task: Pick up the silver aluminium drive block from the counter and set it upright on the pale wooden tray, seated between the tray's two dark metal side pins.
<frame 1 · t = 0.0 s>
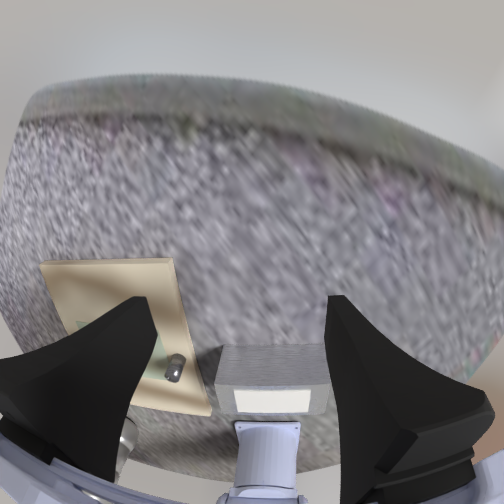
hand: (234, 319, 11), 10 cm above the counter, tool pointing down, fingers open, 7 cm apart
drive: (274, 360, 25), on the counter
plastic bottle: (123, 418, 34), on the counter
pin tray: (127, 346, 26), on the counter
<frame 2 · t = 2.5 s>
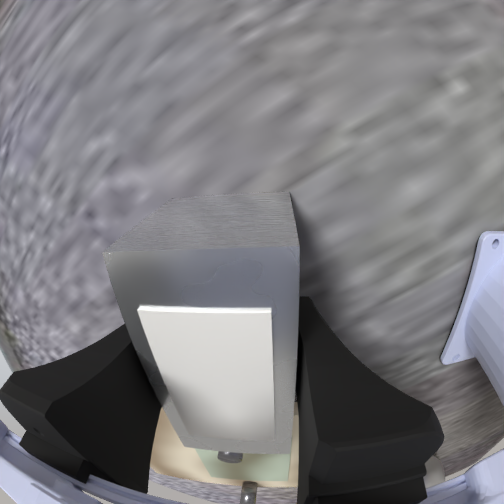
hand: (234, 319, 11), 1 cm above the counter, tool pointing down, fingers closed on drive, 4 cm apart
drive: (239, 298, 12), on the counter, touching gripper
plastic bottle: (410, 461, 20), on the counter
pin tray: (245, 451, 18), on the counter
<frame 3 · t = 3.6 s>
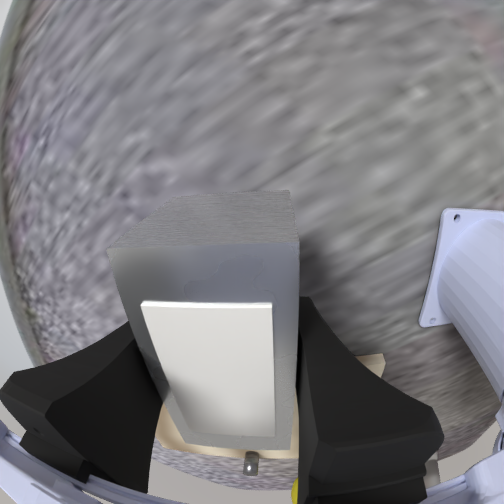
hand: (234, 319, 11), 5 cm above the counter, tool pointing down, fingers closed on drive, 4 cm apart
drive: (239, 296, 12), point 3 cm above the counter, touching gripper
plastic bottle: (403, 436, 23), on the counter
lemon: (313, 467, 27), on the counter
pin tray: (248, 416, 21), on the counter
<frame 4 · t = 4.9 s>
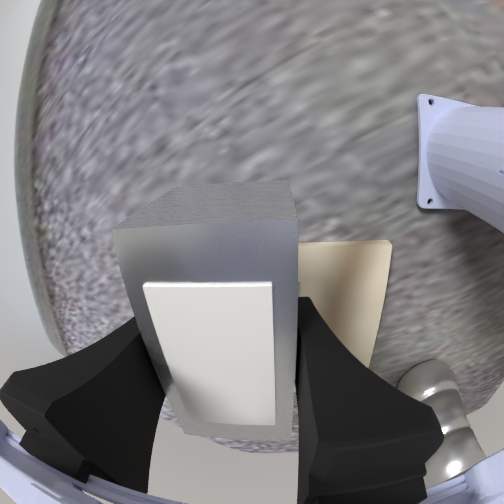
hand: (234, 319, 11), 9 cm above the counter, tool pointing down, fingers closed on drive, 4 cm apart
drive: (239, 285, 12), point 7 cm above the counter, touching gripper
plastic bottle: (418, 372, 24), on the counter
pin tray: (256, 329, 23), on the counter
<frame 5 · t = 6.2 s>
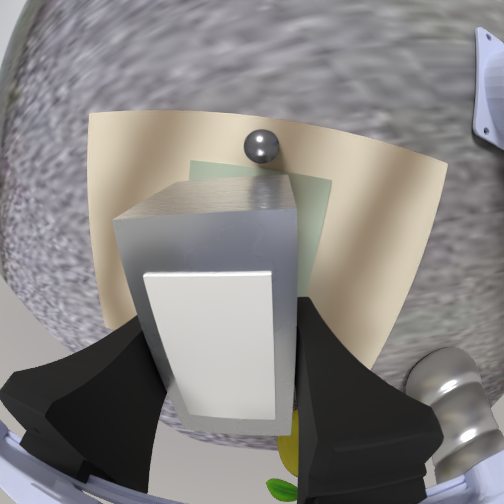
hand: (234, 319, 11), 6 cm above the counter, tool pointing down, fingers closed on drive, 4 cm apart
drive: (239, 280, 12), point 4 cm above the counter, touching gripper
plastic bottle: (432, 363, 19), on the counter
lemon: (308, 404, 22), on the counter
pin tray: (249, 252, 16), on the counter
when the fingers open (4 cm above the counter, at t = 7.5 s): drive stays where it is, resting on pin tray.
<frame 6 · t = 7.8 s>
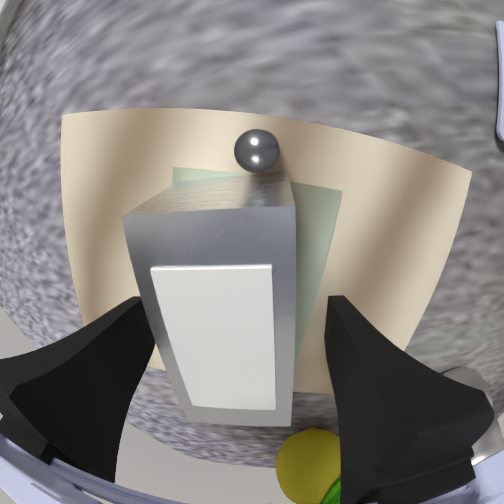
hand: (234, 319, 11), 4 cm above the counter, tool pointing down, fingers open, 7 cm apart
drive: (241, 275, 13), point 1 cm above the counter, touching pin tray
plastic bottle: (440, 383, 17), on the counter
lemon: (309, 426, 20), on the counter
pin tray: (244, 273, 14), on the counter
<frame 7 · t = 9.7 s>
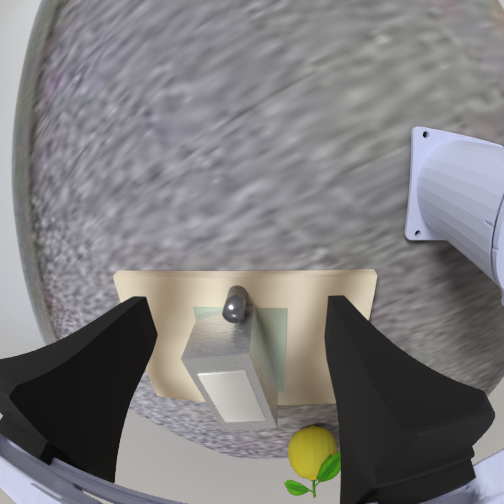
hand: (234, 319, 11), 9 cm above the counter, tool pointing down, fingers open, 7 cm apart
drive: (241, 352, 22), point 1 cm above the counter, touching pin tray
lemon: (310, 425, 29), on the counter
pin tray: (244, 347, 24), on the counter
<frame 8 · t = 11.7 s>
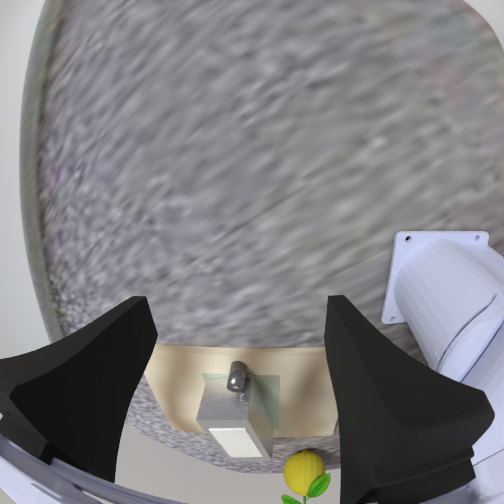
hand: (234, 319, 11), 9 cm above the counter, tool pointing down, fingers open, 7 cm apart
drive: (243, 403, 26), point 1 cm above the counter, touching pin tray
lemon: (303, 449, 32), on the counter
pin tray: (245, 397, 27), on the counter
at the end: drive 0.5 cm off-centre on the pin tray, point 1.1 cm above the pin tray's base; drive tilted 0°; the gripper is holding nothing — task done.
